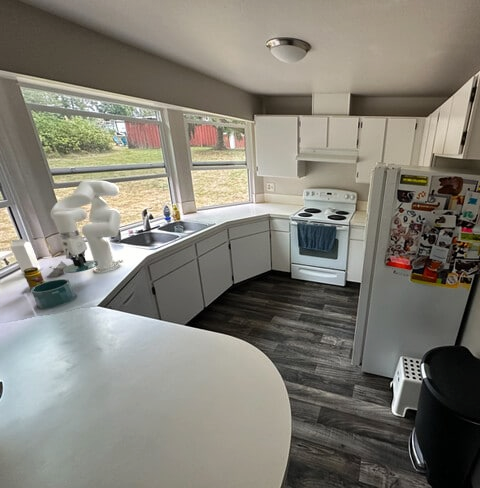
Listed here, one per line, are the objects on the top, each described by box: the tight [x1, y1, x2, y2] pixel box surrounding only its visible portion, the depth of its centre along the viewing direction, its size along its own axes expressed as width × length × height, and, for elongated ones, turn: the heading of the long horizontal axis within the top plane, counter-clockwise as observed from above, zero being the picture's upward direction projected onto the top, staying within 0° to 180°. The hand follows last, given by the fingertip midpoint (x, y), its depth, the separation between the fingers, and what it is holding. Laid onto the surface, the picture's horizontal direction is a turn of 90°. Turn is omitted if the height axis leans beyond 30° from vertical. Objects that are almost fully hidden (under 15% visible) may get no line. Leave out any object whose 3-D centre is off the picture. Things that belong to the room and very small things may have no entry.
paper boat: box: [47, 260, 68, 278], centre depth 158 cm, size 12×6×9 cm
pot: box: [30, 278, 76, 309], centre depth 129 cm, size 14×19×10 cm
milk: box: [10, 238, 41, 275], centre depth 157 cm, size 6×6×22 cm
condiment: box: [22, 267, 46, 294], centre depth 140 cm, size 7×8×12 cm
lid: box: [63, 255, 98, 274], centre depth 141 cm, size 15×15×7 cm
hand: (80, 264), depth 142 cm, fingers closed on lid, 3 cm apart
